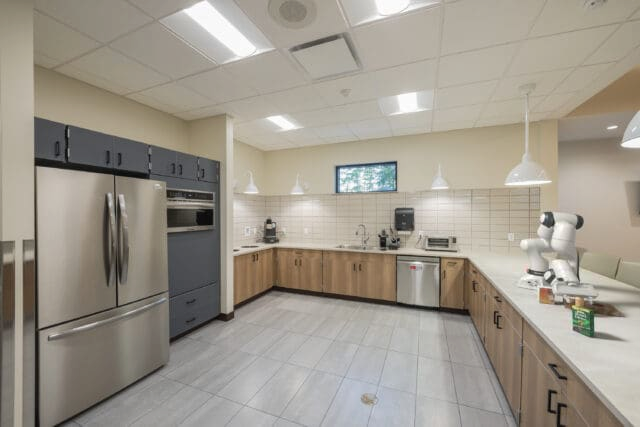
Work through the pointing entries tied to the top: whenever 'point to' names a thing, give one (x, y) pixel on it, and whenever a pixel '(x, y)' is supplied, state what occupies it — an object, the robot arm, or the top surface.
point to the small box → (545, 295)
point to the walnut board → (595, 307)
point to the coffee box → (583, 320)
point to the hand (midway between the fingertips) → (580, 303)
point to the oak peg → (579, 301)
